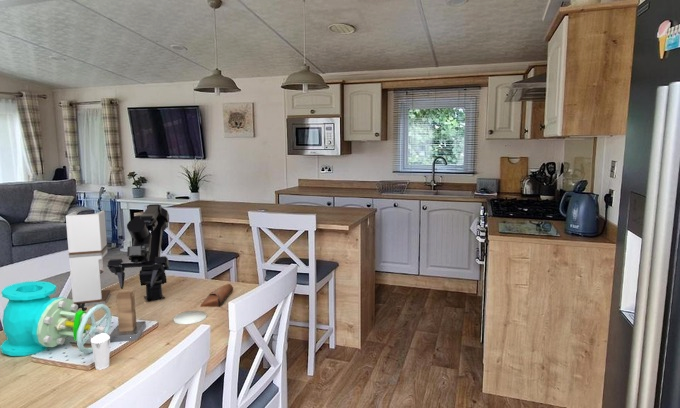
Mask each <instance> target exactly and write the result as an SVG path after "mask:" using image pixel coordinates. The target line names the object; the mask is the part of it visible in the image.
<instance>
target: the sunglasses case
mask: <svg viewBox="0 0 680 408" xmlns="http://www.w3.org/2000/svg"><path fill="white" fill-rule="evenodd" d="M233 291H234V287H233V285H232V284H231V283H227V284H223V285H222V286H219V287H217V288H216V289H214V290H213V291H211V292H210V293H209V295H208V296H207V297H206V298H205V299H204V300H203V301H202V302H201V304H200V306H199V307H202V308H207V307H208V308H211V307H212V308H218V307H219V308H220V307H221V306H222V305H223V304H224V302H225V301H226V300H227V298H228V297H229V296H230V294H232V292H233Z"/></svg>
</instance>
